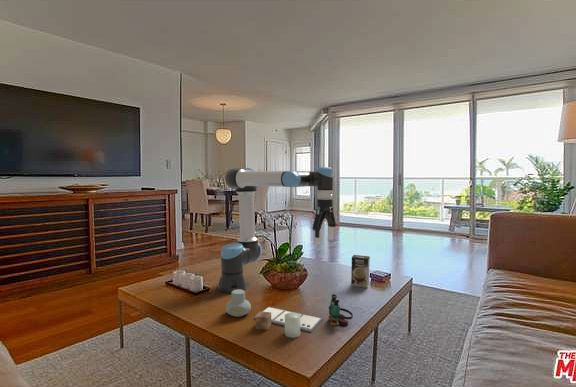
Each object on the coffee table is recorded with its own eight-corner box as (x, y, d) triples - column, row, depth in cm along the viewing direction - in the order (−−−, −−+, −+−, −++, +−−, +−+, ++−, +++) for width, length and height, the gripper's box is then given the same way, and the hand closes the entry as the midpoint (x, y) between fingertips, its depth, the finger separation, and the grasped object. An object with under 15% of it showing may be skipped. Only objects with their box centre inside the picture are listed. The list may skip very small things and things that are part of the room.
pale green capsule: (281, 335, 122) (281, 317, 121) (289, 328, 127) (289, 311, 127) (296, 339, 119) (296, 320, 119) (302, 332, 124) (303, 314, 124)
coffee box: (350, 286, 176) (351, 257, 175) (353, 282, 182) (353, 254, 181) (367, 288, 173) (368, 258, 172) (369, 284, 179) (369, 255, 178)
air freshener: (251, 309, 145) (251, 288, 144) (250, 317, 137) (249, 294, 136) (227, 310, 145) (227, 288, 144) (224, 318, 136) (224, 295, 136)
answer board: (254, 318, 136) (254, 316, 136) (268, 308, 146) (268, 305, 146) (311, 332, 124) (311, 329, 124) (322, 320, 134) (322, 317, 134)
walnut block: (255, 328, 127) (255, 316, 127) (259, 323, 132) (259, 311, 132) (267, 330, 126) (267, 317, 126) (271, 324, 131) (271, 312, 131)
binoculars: (356, 302, 128) (332, 300, 128) (353, 328, 129) (329, 326, 128) (350, 294, 137) (327, 292, 137) (347, 318, 138) (324, 316, 137)
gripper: (319, 200, 145) (319, 247, 146) (342, 197, 165) (342, 238, 167) (305, 200, 149) (305, 245, 150) (329, 197, 170) (329, 236, 171)
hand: (324, 241), depth 158 cm, fingers open, 13 cm apart
